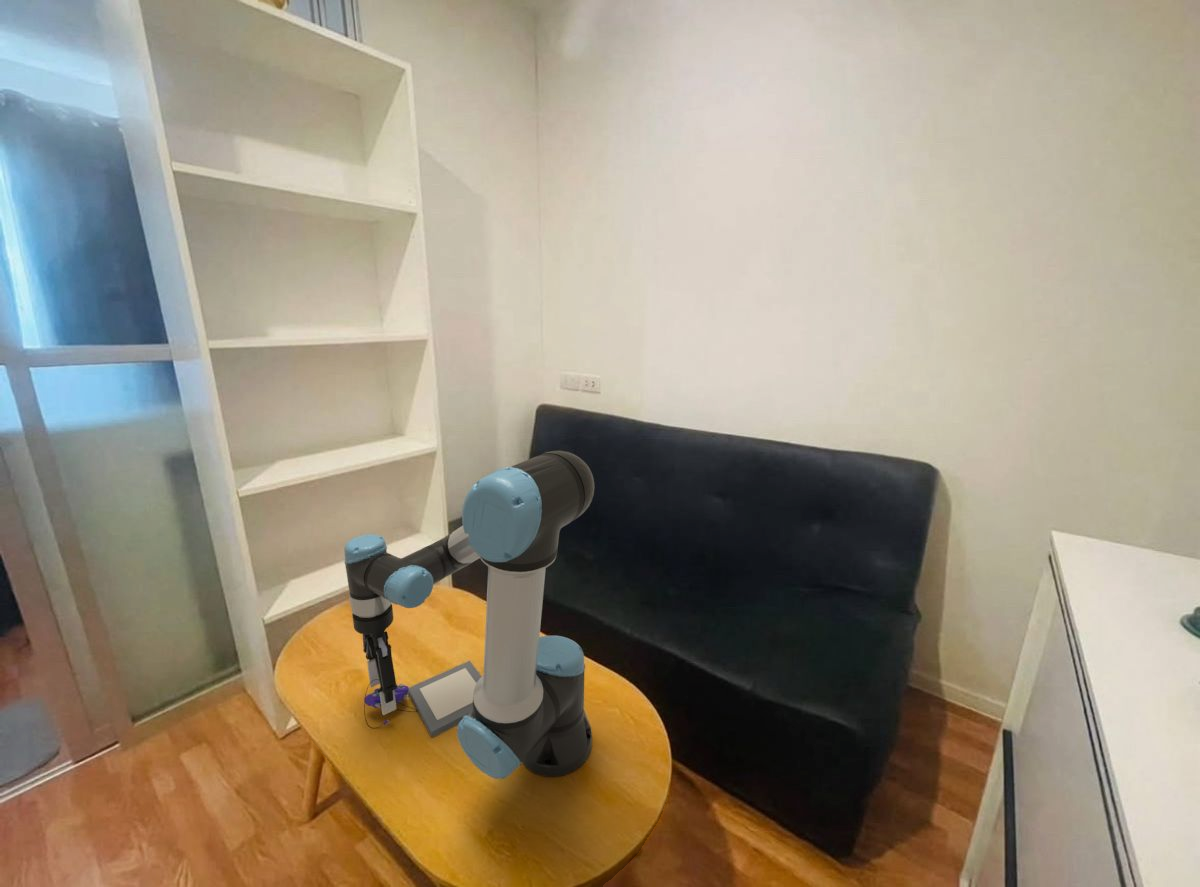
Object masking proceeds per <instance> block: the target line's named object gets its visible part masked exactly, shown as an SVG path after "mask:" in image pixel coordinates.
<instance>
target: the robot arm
mask: <svg viewBox="0 0 1200 887" xmlns="http://www.w3.org/2000/svg"><path fill="white" fill-rule="evenodd" d="M594 480H595V479H594V476H593V473H592V470H591V468H590V467H589V466H588V464H587V463H586V462H585V461H584V460H583V459H582V458H581V457H579V456H578V455H576V454H574V453H572V452H569V451H564V450H552V451H546V452H544V453H541V454H539V455H537V456H535V457H531V458H530V459H526V460H524V461H522V462H519V463H516V464H514V465H511V466H508V467H507V466H506V467H502V468H498V469H496V470H494V471H492V472H491V473H490V474H488V475H486V476H484V477H482V478H481V479H479V480H477V482H475V483H474V484H473V485H472V486H471V487H470V489H469V490H468V492H467V494H466V496H465V498H464V501H463V505H462V509H461V522H462V525H461V526H460V527H458V528H457V529H455V530H454V531H452V532H450V533H449V534H447V535H445V536H444V537H443V538H440V539H439V540H437V541H435V542H432V543H431V544H429V545H427V546H424V547H422V548H420V549H419V550H416V551H414V552H412V553H410V554H408V555H406V556H404V557H397V555H396V556H395V555H393V554H392V553H389V552H388V551H387V549H388V546H387V543H386V539H385V538H384V537H383V536H381V535H380V534H376V533H375V534H374V533H373V534H372V533H371V534H370V533H368V534H363V535H362V534H361V535H359V536H357V537H354V538H352V539H350V540H349V541H348V542H347V543H346V544H345V546H344V549H343V551H344V565H345V572H346V578H347V584H348V585H347V586H348V591H349V595H348V597H349V602H350V609H351V610H350V611H351V612H352V614H351V615H352V616H351V617H352V623H353V629H354V630H355V631H356V633H358V634H361V635H362V643H363V645H362V646H363V653H364V654H365V659H366V660H367V661H366V664H367V671H368V680H369V684H370V685H369V687H370V688H373V687H376V686H378V685H380V686H379V687H378V688H379V689H377V688H376V689H377V692H378V693H380V699H381V707H380V708H381V713H382V715H383V716H385V715H387V714H389V713H391V712H394V711H397V710H396V709H397V703H396V700H395V691H394V690H395V689H397V685H398V684H397V679H396V675H395V673H396V672H395V669H394V662H393V657H392V645H391V644H390V643H389V641H388V640H389V633H388V632H387V629H388V628H389V627H390V626H391V625H392V623H393V621H394V610H393V604H394V605H398V606H400V607H404V608H406V609H414V608H417V607H419V606H421V605H422V604H424V603H425V600H426V599H427V598H429V597H430V596H431V594H432V591H433V589H434V588H433V587H434V585H435V584H437V583H438V582H440V581H442V580H443V579H445V578H447V577H449V576H451V575H452V574H454V573H456V572H458V571H460V570H462V569H463V568H466V567H467V566H470V565H471V564H473V562H475V561H477V560H479V559H480V560H481V562H482V563H484V565H486V566H487V568H488V569H487V584H486V585H487V588H486V589H487V590H486V610H485V611H486V612H485V613H486V615H485V634H484V655H483V675H481V676H482V677H481V678H480V679H479V681H478V682H477V684H476V686H475V689H474V693H473V708H472V710H471V712H470V713H469V714H468V715H465V716H464V717H463V719H462V720H461V721H460V722H459V724H458V725H457V728H456V734H457V735H456V736H457V739H458V742H459V744H460V747H461V749H462V750H463V752H464V753H465V755H466V756H467V757H468V759H469V761H471V763H472V764H473V765H474V766H475V767H476V768H477V769H479V770H480V771H481V772H482V773H484V774H485V775H487V777H490V778H491V779H494V780H495V779H496V780H497V779H499V780H502V779H506V778H508V777H509V776H510V775H511V774H512V773H513V772H514V771H515V770H516V769H517V768H520V766H521V765H522V764H523V765H524V766H525V767H526V768H527V769H528V770H529V771H531V772H532V773H534V774H536V775H538V776H543V777H548V778H549V777H551V778H552V777H553V778H556V777H562V776H566V775H568V774H572V773H573V772H575V771H576V770H578V769H579V768H580V767H582V766H583V765H584V763H585V762H586V761H587V759H588V758H589V756H590V754H591V751H592V747H593V746H592V744H593V732H592V727H591V724H590V722H589V719H588V717H587V714H586V711H585V671H586V663H585V654H584V651H583V649H582V647H581V646H580V645H579V644H578V643H577V642H576V641H574V640H573V639H570V638H568V637H565V636H563V635H562V636H561V635H543V636H541V635H540V634H541V633H540V632H541V625H542V622H541V621H542V613H543V612H542V611H543V600H544V590H545V582H546V581H545V579H546V578H545V577H546V568H548V567H549V566H551V565H552V564H553V563H554V562H555V560H556V558H557V556H558V555H557V554H558V548H559V547H558V546H559V539H560V538H559V537H560V531H561V529H562V528H563V527H565V526H567V525H569V524H570V523H572V522H573V521H575V520H576V519H578V518H579V517H580V516H582V515H583V514H584V513H585V512H586V511H587V509H588V508H589V507H590V506H591V503H592V501H593V497H594V495H595V481H594ZM375 679H378V680H375ZM373 680H374V681H373ZM371 681H372V682H371Z"/></svg>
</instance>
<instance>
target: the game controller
mask: <svg viewBox="0 0 1200 887" xmlns="http://www.w3.org/2000/svg"><path fill="white" fill-rule="evenodd" d="M375 680H378V679H375ZM373 681H374V680H373ZM371 682H372V681H371ZM409 687H410V686H408V685H405V684H404V683H399V684H397V689H395V690H394V691H395V700H396V704H400V705H403V706H405V707H407V708H410V709H412V710H411V711H410V710H406V713H407V712H409V713H417V712H418V711H417V709H416V708H413V707H410V706H409V705H405V704H403V703H401V702H402V701H405V700H407V699H408V696H409V694H408V688H409ZM368 688H370V683H369V684H368V685H367V688H366V692H365V695H364V699H363V700H364V703H363V713H364V714H363V715H364V719H365V720H364V721H365V723H366V724H367V726H368V727H369V728H370V729H373V727H371V726H370V725H369V723H368V721H367V719H366V710H365V707H366V705H367V706H369V707H373V708H374V709H378V708H381V699H380V693H378V692H377V689H379V687H378V688H375V689H374V692H372V693H370V694H367V691H368V690H369V689H368ZM413 710H414V711H413ZM395 711H400V712H405V710H402V709H398V708H396V710H395ZM390 721H391V719H390V718H388V719H386V720H385V721H384V722H382V724H381V725H379V726H377V727H376V729H378V728H380V727H382V726H386V725H387V724H388V723H389V722H390Z"/></svg>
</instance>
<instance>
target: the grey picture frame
mask: <svg viewBox="0 0 1200 887" xmlns="http://www.w3.org/2000/svg"><path fill="white" fill-rule="evenodd" d="M482 676H483V675H481V673H480V672H479V671H478V669H477V668H476V667H475V665H474V664H473V663H472V662H471V660H468V661H466V662H464V663H461V664H459V665H456V666H455V667H454V666H453V667H451V668H449V669H447V670H445V671H442V672H441V673H439V674H437V675H434V676H432V677H429V678H427V679H425V680H423V681H421V682H418V683H417V684H414V685H411V686H408V687H409V688H408V696H409V698H410V699H411V701H412V703H413V705H414V707H415V710H417V712H418V714H419V716H420V718H421V721H422V722H423V723H424V726H425V727H426V730H427V731H428V733H429V735H430V737H431V738H432V739H433V738H434V737H437V736H439V735H440V734H443V733H444V732H446V731H448V730H449V729H452V728H453V727H455V726H458V724H459V722H460V721H461V720H462V719H463V717H464V716H465V715H468V714H469V713H470V712H471V710H472V708H473V693H474V689H475V686H476V684H477V682H478V681H479V679H480V678H481V677H482Z"/></svg>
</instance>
